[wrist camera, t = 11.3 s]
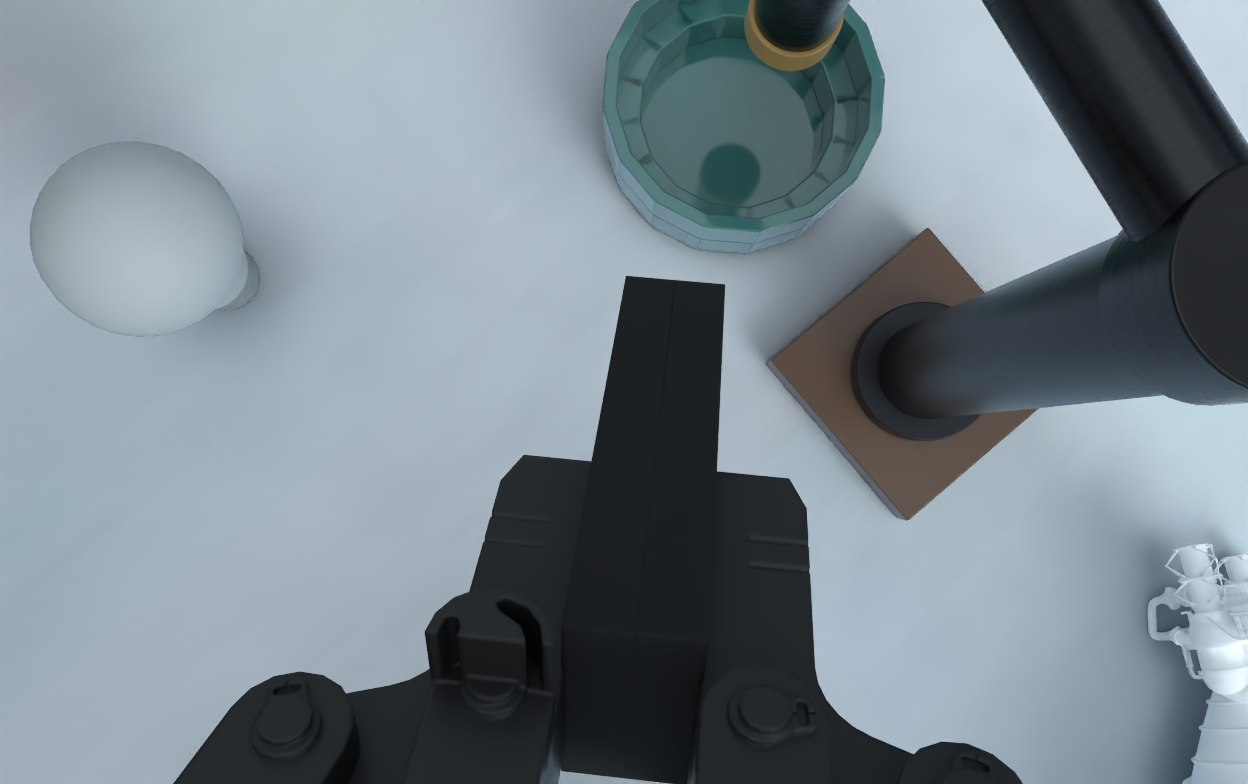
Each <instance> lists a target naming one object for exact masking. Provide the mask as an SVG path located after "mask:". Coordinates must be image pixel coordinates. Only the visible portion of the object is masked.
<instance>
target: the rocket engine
mask: <svg viewBox="0 0 1248 784" xmlns="http://www.w3.org/2000/svg"><path fill="white" fill-rule="evenodd" d="M1208 547H1210V549H1212V553H1213V554H1212V555H1210V554H1208V553H1207V550H1208ZM1212 547H1213V545H1212V544H1210V545H1208V543H1204V544H1195V545H1189V546H1183V547H1178V548H1174V549H1175V550H1174V551H1172V552H1173V554H1172V556H1171V558H1170V559H1169V561H1168V563H1167V565H1166V566H1165V567H1167V568H1168V569H1169V570H1171V571H1172V572H1173V573H1174V574H1176V575H1177V576H1178V577H1180V579H1179V580H1178V582H1180V583H1181V586H1180V587H1179V589H1178V590H1177V589H1175V588H1173V587H1167V588H1165V591H1164V593H1163V594H1162V595H1161V596H1158V597H1155V598H1153V599H1152V600H1151V601H1150V602H1149V604H1148V610H1147V614H1148V632H1149V635H1150V636H1151V638H1153V639H1155V640H1169V641H1174V643H1175V644H1176V645H1179V646H1181V647H1182V650H1183V653H1182V654H1184V658H1185V662H1186V665H1187V666H1186V667H1188V669H1189V672H1190V675H1191V676H1192V678H1194V679H1203V680H1204V682H1205V683H1206V685H1207V686H1208V687H1209V688H1210V689H1211V690H1212V691H1213V692H1212V695H1211V699H1208V700H1207V701H1206V703H1207V704H1209V706H1208V709H1207V713H1206V716H1205V720H1204V724H1202V725H1200V726H1199V730H1201V736H1200V740H1199V744H1198V749H1197V753H1196V755H1195V756H1193V757H1192V758H1191V760H1192V762H1193V763H1194V767H1193V772H1192V776H1191V777H1189V778H1187V779H1185V780H1184V781H1183V783H1182V784H1248V554H1243V555H1236V556H1229V557H1224V558H1222V560H1220V561H1217V558H1216V557H1215V555H1214V552H1213V548H1212ZM1177 553H1179V556H1180V560H1181V563H1182V567H1183V571H1184V574H1185V575H1182V574H1180V573H1178V572H1177V571H1175V570H1173V569H1172V568H1170V567H1168V565H1169V563H1170V562H1171V560H1172V559H1173V558H1174V556H1175V555H1176V554H1177ZM1208 556H1210V557H1212V558H1213V560H1212V561H1211V562H1210V560H1209V557H1208ZM1215 559H1216V565H1217V567H1216V569H1215V570H1214V571H1213V569H1212V568H1211V564H1212V563H1213V562H1214V560H1215ZM1218 562H1219V564H1218ZM1223 563H1224V564H1225V567H1226V571H1227V574H1228V578H1229V580H1227V579H1225V578H1223V577H1222V576H1223V575H1222V574H1221V573H1220V572H1219V567H1220V566H1221V565H1222V564H1223ZM1215 572H1216V573H1217V574H1215ZM1178 574H1179V575H1180V576H1179V575H1178ZM1217 578H1218V579H1219V580H1220V581H1221V585H1217V584H1216V581H1217ZM1223 579H1224V580H1223ZM1225 580H1226V581H1225ZM1222 581H1224V582H1225V585H1223V583H1222ZM1227 581H1228V582H1227ZM1185 585H1188V586H1185ZM1160 604H1166V605H1168V607H1169V608H1170V609H1171V610H1175V609H1178V608H1180V606H1181V604H1182V605H1183V606H1184V607H1191V608H1192V609H1194V610H1192V611H1186V612H1181V613H1182V614H1187V615H1188V619H1189V623H1190V626H1189V628H1184V629H1182V628H1180V627H1175V628H1174V629H1173V630H1169V631H1167V632H1160V633H1159V632H1157V622H1156V608H1157V605H1160ZM1189 650H1196V651H1197V655H1198V658H1199V662H1200V666H1201V670H1200V671H1198V674H1199V675H1195V674H1194V670H1193V667H1194V665H1193V663H1192V659H1191V655H1190V653H1191V652H1190V651H1189Z"/></svg>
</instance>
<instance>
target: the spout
mask: <svg viewBox="0 0 1248 784" xmlns="http://www.w3.org/2000/svg"><path fill="white" fill-rule="evenodd" d="M849 1H850V0H750V1H749V4H748V8H747V11H746V15H745V20H744V31H745V36H746V40H747V42H748V45H749V46H750V48H751V50H752V51H753V53H754V54H755V55H756V56H757V57H758V58H759V59H760V60H761V61H762V62H764V63H765V64H767V65H768V66H771V67H773V68H775V69H779V70H783V71H798V70H803V69H806V68H809V67H811V66H813V65H815V64H816V63H818V62H819V61H820V60H821V59H823V58H824V56H825V55H826V54H827V53H828V51H829V50H830V48H831V47H832V45H833V43H834V41H835V39H836V37H837V35H838V33H839V31H840V29H841V26H842V23H843V17H844V11H845V9H846V7H847V5H848V3H849ZM982 2H983V3H984V5H985V7H986V8H987V10H988V12H989V13H990V15H991V16H992V18H993V20H994V21H995V23H996V24H997V26H998V28H999V29H1000V31H1001V33H1002V34H1003V36H1004V37H1005V39H1006V41H1007V42H1008V44H1009V45H1010V47H1011V49H1012V50H1013V52H1014V54H1015V55H1016V57H1017V58H1018V60H1019V62H1020V63H1021V65H1022V67H1023V68H1024V70H1025V71H1026V73H1027V75H1028V76H1029V78H1030V79H1031V81H1032V83H1033V84H1034V86H1035V88H1036V89H1037V91H1038V92H1039V94H1040V96H1041V97H1042V99H1043V101H1044V102H1045V104H1046V105H1047V107H1048V109H1049V110H1050V112H1051V113H1052V115H1053V117H1054V118H1055V120H1056V122H1057V123H1058V125H1059V126H1060V128H1061V130H1062V131H1063V133H1064V134H1065V136H1066V138H1067V139H1068V141H1069V143H1070V144H1071V146H1072V147H1073V149H1074V151H1075V152H1076V154H1077V156H1078V157H1079V159H1080V160H1081V162H1082V164H1083V165H1084V167H1085V168H1086V170H1087V172H1088V173H1089V175H1090V177H1091V178H1092V180H1093V181H1094V183H1095V185H1096V186H1097V188H1098V190H1099V191H1100V193H1101V194H1102V196H1103V198H1104V199H1105V201H1106V202H1107V204H1108V206H1109V207H1110V209H1111V211H1112V212H1113V214H1114V215H1115V217H1116V219H1117V220H1118V222H1119V223H1120V225H1121V227H1122V228H1123V229H1122V230H1121V232H1120V233H1119V234H1118V236H1117V237H1116V239H1115V240H1114V242H1113V244H1112V245H1111V247H1110V250H1109V252H1108V254H1107V256H1106V259H1105V262H1104V265H1103V268H1102V272H1101V278H1100V284H1099V305H1100V314H1101V318H1102V322H1103V327H1104V329H1105V332H1106V335H1107V337H1108V340H1109V342H1110V343H1111V345H1112V347H1113V349H1114V351H1115V353H1116V354H1117V355H1118V357H1119V358H1120V360H1121V361H1122V363H1123V364H1124V365H1125V366H1126V367H1127V368H1128V369H1129V370H1130V371H1131V373H1132V374H1133V375H1135V376H1136V377H1137V378H1138V379H1139V380H1140V381H1142V382H1143V383H1144V384H1146V385H1147V386H1149V387H1150V388H1152V389H1153V390H1155V391H1156V392H1159V393H1161V394H1163V395H1165V396H1167V397H1169V398H1172V399H1175V400H1178V401H1181V402H1185V403H1190V404H1196V405H1210V406H1211V405H1225V404H1238V403H1248V143H1247V142H1246V140H1245V138H1244V137H1243V135H1242V134H1241V132H1240V130H1239V129H1238V127H1237V126H1236V124H1235V123H1234V121H1233V119H1232V118H1231V116H1230V115H1229V113H1228V111H1227V110H1226V108H1225V107H1224V105H1223V103H1222V102H1221V100H1220V99H1219V97H1218V95H1217V94H1216V92H1215V91H1214V89H1213V87H1212V86H1211V84H1210V83H1209V81H1208V80H1207V78H1206V76H1205V75H1204V73H1203V72H1202V70H1201V68H1200V67H1199V65H1198V64H1197V62H1196V60H1195V59H1194V57H1193V56H1192V54H1191V52H1190V51H1189V49H1188V48H1187V46H1186V44H1185V43H1184V41H1183V40H1182V38H1181V37H1180V35H1179V33H1178V32H1177V30H1176V29H1175V27H1174V25H1173V24H1172V22H1171V21H1170V19H1169V17H1168V16H1167V14H1166V13H1165V11H1164V9H1163V8H1162V6H1161V5H1160V3H1159V1H1158V0H982Z"/></svg>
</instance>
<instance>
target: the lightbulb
mask: <svg viewBox="0 0 1248 784" xmlns="http://www.w3.org/2000/svg"><path fill="white" fill-rule="evenodd" d="M30 246H31V251H32V255H33V259H34V263H35V265H36V267H37V270H38V272H39V274H40V276H41V278H42V280H43V281H44V282H45V284H46V285H47V287H48V288H49V289H50V291H51V292H52V293H53V295H54V296H55V298H56V299H57V300H58V301H59V302H60V303H62V304H63V305H64V306H65V307H66V308H67V309H68V310H69V311H70V312H72V313H73V314H75V315H76V316H78V317H79V318H81V319H83V320H84V321H86V322H88V323H89V324H91V325H93V326H95V327H98V328H101V329H104V330H106V331H109V332H113V333H117V334H122V335H129V336H136V337H143V336H158V335H162V334H167V333H170V332H174V331H178V330H182V329H185V328H187V327H189V326H191V325H193V324H195V323H197V322H199V321H201V320H202V319H204V318H205V317H206V316H208V315H209V314H210V313H212V312H213V311H214V310H215V309H218V310H234V309H238V308H240V307H242V306H244V305H245V304H247V303H248V302H249V301H250V300H251V299H252V298H253V297H254V295H255V294H256V292H257V289H258V287H259V281H260V274H259V270H258V267H257V264H256V262H255V261H254V260H253V258H252V257H251V256H250V255H249V254H248V253H247V252H246V251H245V250H243V232H242V228H241V224H240V220H239V216H238V214H237V212H236V210H235V207H234V205H233V203H232V201H231V199H230V197H229V195H228V194H227V192H226V191H225V189H224V188H223V187H222V185H221V184H220V183H219V181H218V180H217V179H216V178H215V177H214V176H213V175H212V174H211V173H210V172H208V171H207V170H206V169H205V168H204V167H203V166H201V165H200V164H198V163H197V162H195V161H194V160H192V159H190V158H189V157H187V156H185V155H184V154H182V153H180V152H178V151H175V150H172V149H169V148H166V147H163V146H159V145H155V144H148V143H141V142H119V143H109V144H105V145H101V146H97V147H93V148H90V149H88V150H86V151H84V152H82V153H79V154H77V155H75V156H74V157H72V158H71V159H70V160H68V161H67V162H66V163H64V164H63V165H61V166H60V167H59V168H58V169H57V171H56V172H55V173H54V174H53V175H52V176H51V177H50V178H49V179H48V181H47V182H46V184H45V185H44V187H43V189H42V190H41V192H40V193H39V196H38V198H37V201H36V203H35V206H34V208H33V212H32V218H31V224H30Z"/></svg>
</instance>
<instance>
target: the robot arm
mask: <svg viewBox="0 0 1248 784" xmlns="http://www.w3.org/2000/svg"><path fill="white" fill-rule="evenodd" d="M724 298H725V285H724V284H712V283H701V282H690V281H678V280H667V279H655V278H644V277H633V276H626V279H625V284H624V290H623V295H622V301H621V306H620V311H619V317H618V322H617V327H616V333H615V338H614V344H613V349H612V354H611V360H610V365H609V370H608V376H607V381H606V387H605V392H604V397H603V403H602V408H601V413H600V419H599V424H598V430H597V435H596V440H595V446H594V451H593V457H592V462H591V461H581V460H571V459H561V458H550V457H540V456H530V455H523V456H522V457H521V459H520V460H519V461H518V462H517V463H516V464H515V465H514V466H513V467H512V468H511V470H510V471H509V472H508V473H507V474H506V475H505V476H504V477H503V478H502V480H501V481H500V485H499V488H498V492H497V496H496V499H495V503H494V506H493V510H492V517H490V520H489V524H488V527H487V531H486V535H485V542H483V545H482V549H481V552H480V556H479V559H478V563H477V566H476V570H475V574H474V577H473V581H472V584H471V588H470V591H469V592H468V593H465V594H462V595H460V596H457V597H454V598H453V599H452V600H450V601H449V602H448V603H447V604H445V605H444V606H443V607H442V608H441V609H439V610H438V611H437V612H436V613H435V614H434V616H433V618H432V620H431V622H430V623H429V625H428V627H427V629H426V630H425V638H426V645H427V652H428V659H429V666H430V669H429V670H427V671H426V672H424V673H422V674H420V675H418V676H416V677H414V678H412V679H410V680H407V681H404V682H400V683H397V684H393V685H390V686H384V687H379V688H374V689H368V690H363V691H357V692H352V693H347V694H346V693H345V692H344V690H343V688H342V687H341V686H340V685H338V684H337V683H335V682H333V681H332V680H330V679H328V678H327V677H325V676H324V675H318V674H312V673H305V672H295V673H290V674H284V675H279V676H274V677H272V678H270V679H268V680H266V681H264V682H262V683H260V684H258V685H256V686H254V687H252V688H251V689H249V690H248V691H247V692H246V693H245V694H244V695H243V696H242V697H241V698H240V699H239V700H238V701H237V702H236V703H235V704H234V705H233V706H232V707H231V708H230V709H229V711H228V712H227V713H226V715H225V716H224V717H223V719H222V720H221V721H220V723H219V724H218V725H217V727H216V728H215V729H214V731H213V732H212V733H211V734H210V736H209V737H208V738H207V740H206V741H205V742H204V744H203V745H202V746H201V748H200V749H199V750H198V752H197V753H196V754H195V756H194V757H193V758H192V760H191V761H190V762H189V764H188V765H187V766H186V768H185V769H184V770H183V771H182V773H181V774H180V775H179V777H178V778H177V779H176V781H175V782H174V783H173V784H558V781H559V775H560V769H561V771H566V772H575V773H584V774H592V775H601V776H610V777H618V778H627V779H636V780H644V781H653V782H662V783H670V784H1023V783H1022V782H1021V780H1020V779H1019V777H1018V776H1017V775H1016V773H1015V772H1014V771H1013V770H1012V769H1010V768H1009V767H1008V766H1007V765H1005V764H1004V763H1003V762H1002V761H1000V760H999V759H998V758H997V757H995V756H994V755H993V754H991V753H988V752H986V751H984V750H981V749H979V748H976V747H974V746H971V745H969V744H965V743H952V742H939V743H936V744H933V745H930V746H927V747H923V748H920V749H919V750H918V751H917V752H916V753H915V754H911V753H909V752H907V751H904V750H902V749H900V748H897V747H895V746H892V745H890V744H888V743H885V742H883V741H881V740H878V739H876V738H873V737H871V736H869V735H867V734H866V733H864V732H862V731H860V730H858V729H856V728H854V727H853V726H852V725H850V724H849V723H848V722H847V721H846V720H844V719H843V718H842V717H841V716H840V715H838V714H837V712H836V711H835V710H834V709H833V707H832V706H831V705H830V704H829V703H828V701H827V700H826V699H825V697H824V694H823V692H822V690H821V688H820V686H819V684H818V680H817V675H816V670H815V659H814V641H813V622H812V603H811V584H810V573H809V568H810V565H809V547H808V527H807V509H806V507H805V505H804V503H803V502H802V500H801V498H800V496H799V495H798V493H797V491H796V490H795V488H794V486H793V484H792V483H791V481H790V479H788V478H778V477H767V476H757V475H747V474H737V473H727V472H717V454H718V432H719V409H720V387H721V365H722V342H723V320H724Z"/></svg>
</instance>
